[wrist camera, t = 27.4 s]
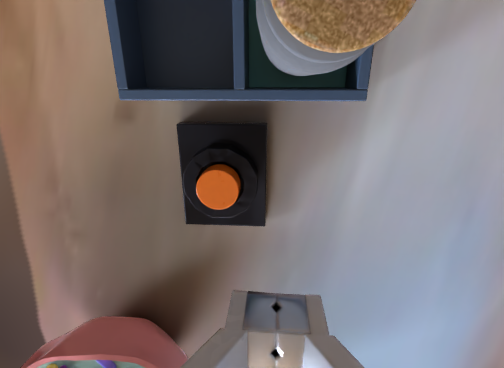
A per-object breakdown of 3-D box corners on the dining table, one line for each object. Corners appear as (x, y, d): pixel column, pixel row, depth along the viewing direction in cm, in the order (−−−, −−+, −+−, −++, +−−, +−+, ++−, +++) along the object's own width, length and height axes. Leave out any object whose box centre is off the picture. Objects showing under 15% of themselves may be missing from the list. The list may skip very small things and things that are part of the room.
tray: (126, -31, 22) (94, -56, 18) (366, -38, 21) (388, -65, 17) (143, 96, 26) (119, 100, 22) (350, 97, 24) (366, 101, 20)
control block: (180, 121, 26) (169, 127, 23) (267, 122, 26) (266, 127, 23) (188, 218, 30) (180, 233, 27) (265, 221, 29) (264, 236, 26)
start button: (199, 163, 25) (194, 169, 23) (240, 164, 24) (238, 170, 23) (202, 201, 26) (197, 209, 24) (241, 202, 26) (239, 210, 24)
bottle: (297, 91, 24) (335, 110, 10) (247, 37, 22) (205, -32, 8) (353, 34, 22) (500, -45, 8) (302, -27, 21) (365, -251, 7)
